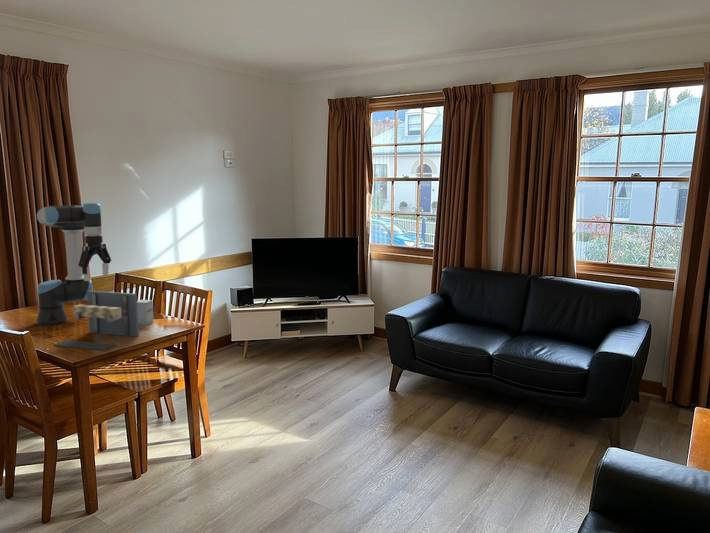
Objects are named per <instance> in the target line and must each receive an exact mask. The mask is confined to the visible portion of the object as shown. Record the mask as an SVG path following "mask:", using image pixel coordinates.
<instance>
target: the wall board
mask: <svg viewBox="0 0 710 533" xmlns="http://www.w3.org/2000/svg"><path fill="white" fill-rule="evenodd" d="M92 294H97V299H98V306H109V307H121V313H122V314H124V313H123V296H128V307H129V324H130V336H129V337H138V336H140V334H139V330H140V329H139V324H138V311H137V301H138V295H137V293H133V292H132V293H129V292H114V291H101V290H100V291H99V290H92V291H87V298H88V300H87V305H92ZM88 323H89V324H88V325H89V333H93V334H94V320H93V317H88ZM99 329H100V333H99V334H107V335H118V336H125V331H124V317H123V318H121V319H118V320H115V321H113V322H107V318H99Z"/></svg>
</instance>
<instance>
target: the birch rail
mask: <svg viewBox="0 0 710 533" xmlns="http://www.w3.org/2000/svg"><path fill="white" fill-rule="evenodd" d="M75 313H80V316H82V317H85V318H89V317H94V318H107V315H112V319H119V318H121V317H122V313H121V307H109V306H95V305H88V304H77V305H73V317H75Z"/></svg>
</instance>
